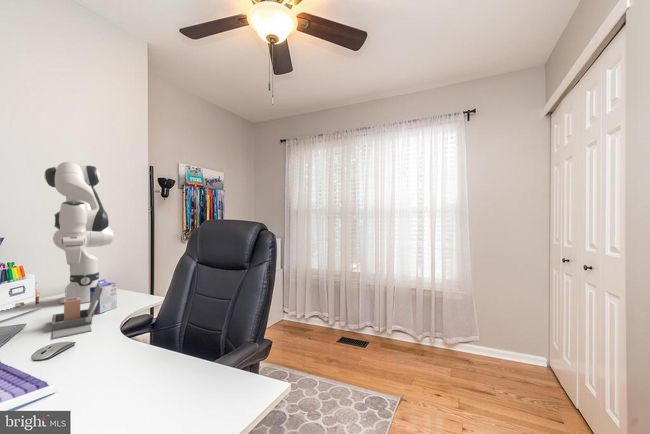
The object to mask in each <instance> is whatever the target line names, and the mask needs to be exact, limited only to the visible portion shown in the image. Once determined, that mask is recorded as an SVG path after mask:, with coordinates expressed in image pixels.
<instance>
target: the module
mask: <svg viewBox="0 0 650 434" xmlns="http://www.w3.org/2000/svg"><path fill="white" fill-rule="evenodd" d="M80 310H81V303H80V297H70V298H68V299H64V303H63V313H64V321H69V320H75V319H81V318H80Z"/></svg>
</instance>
